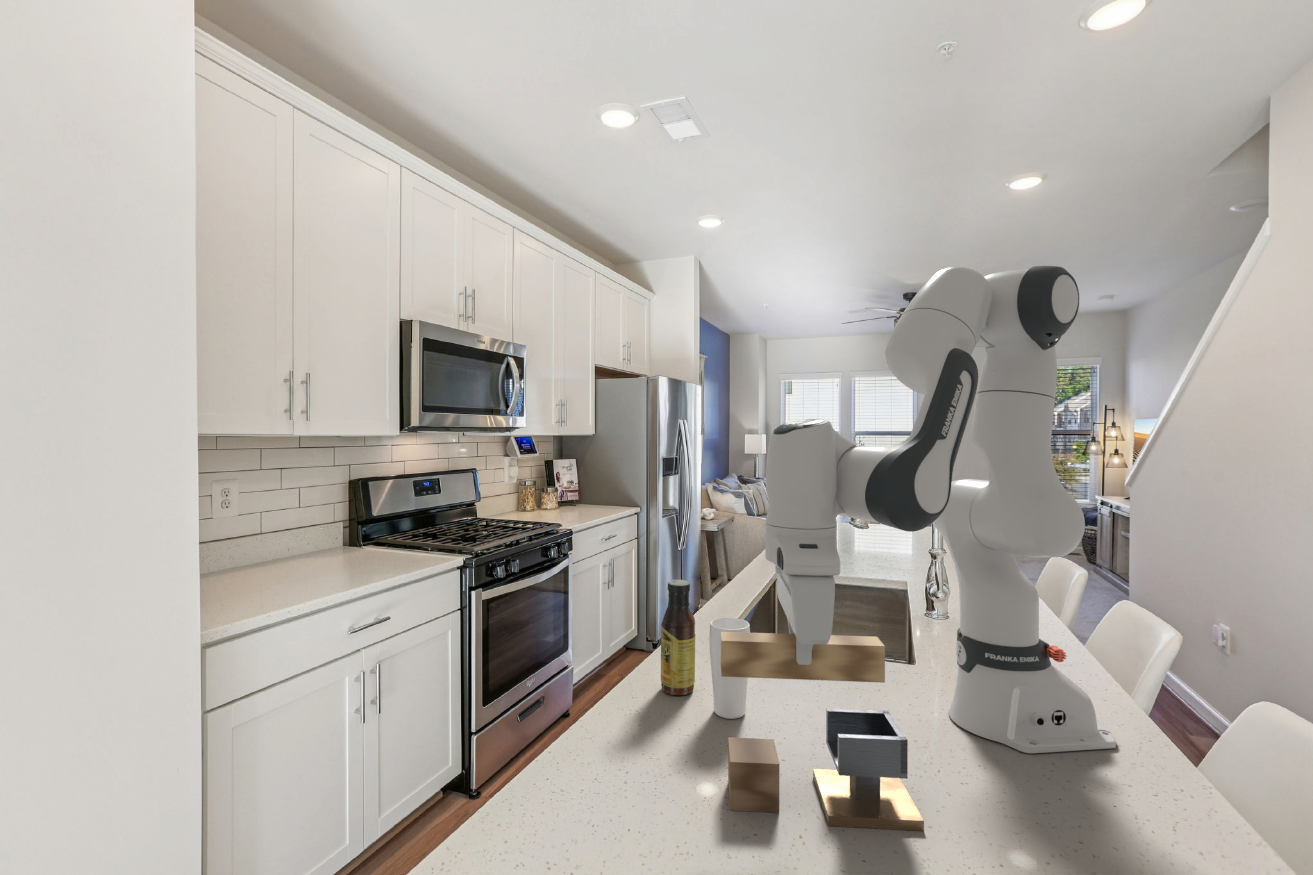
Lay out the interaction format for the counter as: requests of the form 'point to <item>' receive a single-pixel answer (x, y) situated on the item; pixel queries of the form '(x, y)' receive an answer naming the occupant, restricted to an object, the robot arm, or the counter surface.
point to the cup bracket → (866, 772)
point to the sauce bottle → (678, 641)
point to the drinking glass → (726, 689)
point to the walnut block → (753, 775)
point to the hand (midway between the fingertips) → (800, 655)
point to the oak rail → (778, 661)
